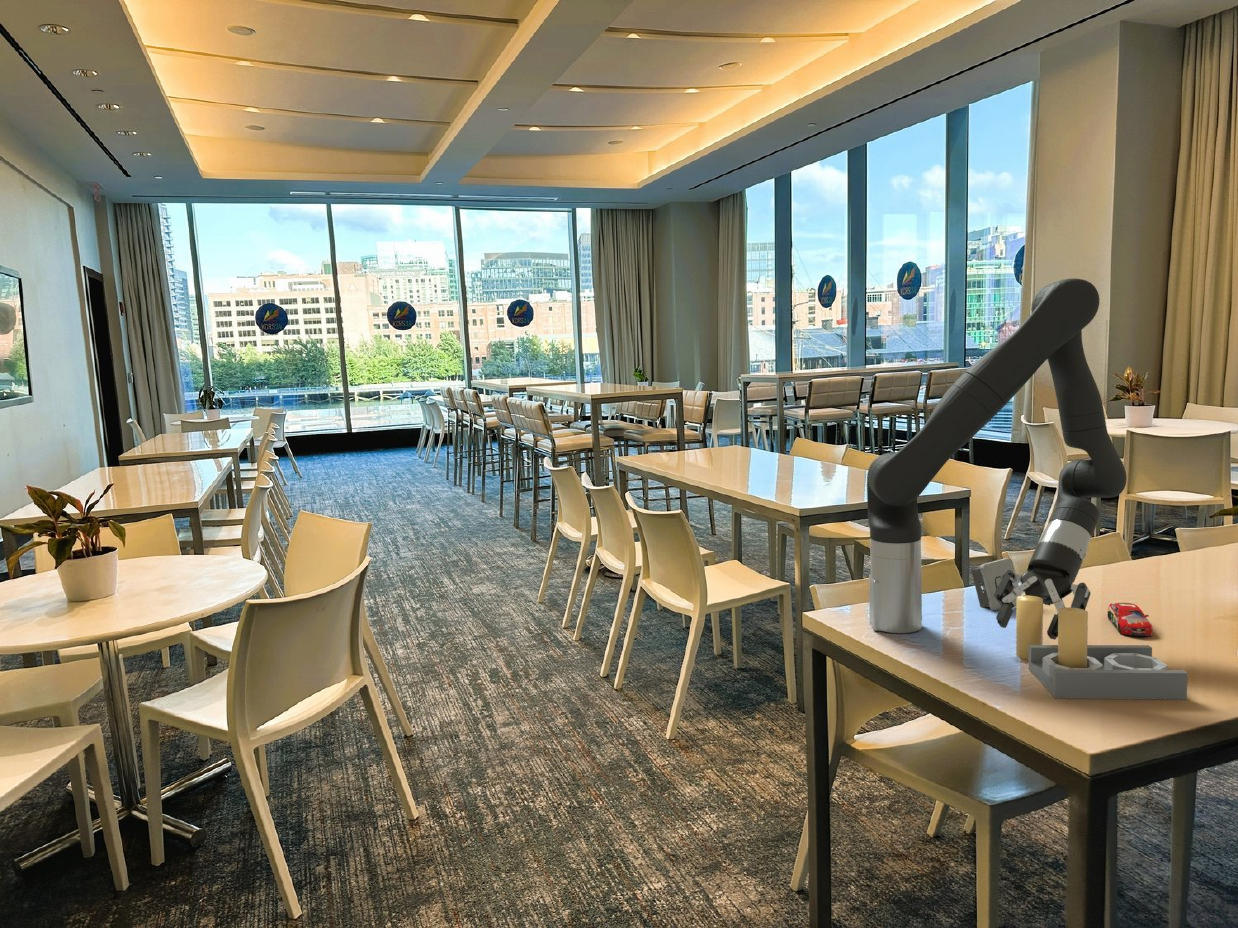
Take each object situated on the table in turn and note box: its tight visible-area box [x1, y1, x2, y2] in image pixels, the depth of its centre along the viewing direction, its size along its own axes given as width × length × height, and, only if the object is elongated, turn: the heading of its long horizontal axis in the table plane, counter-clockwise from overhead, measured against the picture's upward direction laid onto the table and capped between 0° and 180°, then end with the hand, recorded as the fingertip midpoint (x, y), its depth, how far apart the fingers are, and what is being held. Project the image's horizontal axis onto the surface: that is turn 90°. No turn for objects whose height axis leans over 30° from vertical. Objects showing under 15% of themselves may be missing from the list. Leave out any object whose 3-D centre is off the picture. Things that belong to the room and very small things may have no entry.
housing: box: [1027, 606, 1189, 701], centre depth 129 cm, size 18×12×12 cm, turn 82°
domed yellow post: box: [1015, 595, 1044, 661], centre depth 142 cm, size 4×4×10 cm
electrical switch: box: [971, 557, 1020, 611], centre depth 171 cm, size 9×5×9 cm, turn 121°
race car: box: [1107, 602, 1154, 637], centre depth 154 cm, size 13×5×4 cm, turn 160°
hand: (1025, 630), depth 141 cm, fingers open, 8 cm apart
